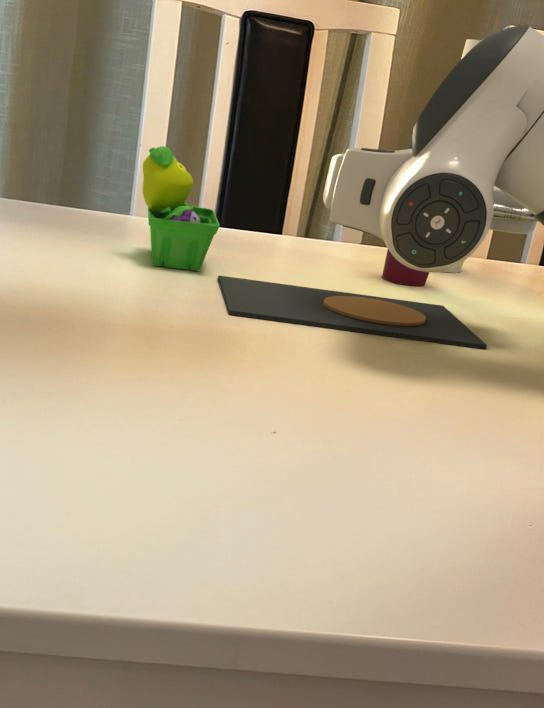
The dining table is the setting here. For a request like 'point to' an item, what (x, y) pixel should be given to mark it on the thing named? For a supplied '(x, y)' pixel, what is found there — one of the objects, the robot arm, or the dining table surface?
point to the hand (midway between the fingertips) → (430, 187)
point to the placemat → (345, 311)
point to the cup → (402, 268)
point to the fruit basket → (175, 214)
